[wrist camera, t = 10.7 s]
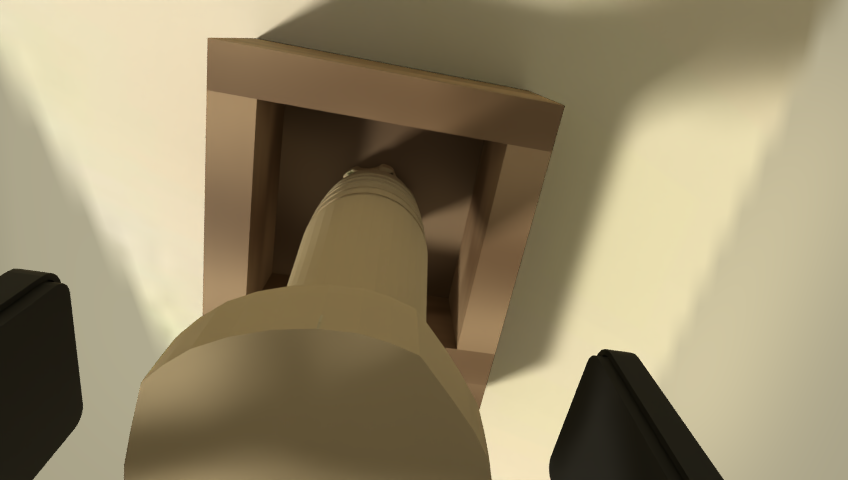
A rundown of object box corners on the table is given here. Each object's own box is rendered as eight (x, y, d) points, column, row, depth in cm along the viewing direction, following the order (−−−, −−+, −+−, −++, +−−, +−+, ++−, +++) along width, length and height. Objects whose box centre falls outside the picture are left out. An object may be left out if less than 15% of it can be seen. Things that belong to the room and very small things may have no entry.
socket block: (255, 38, 19) (207, 37, 14) (528, 90, 20) (564, 105, 16) (238, 373, 25) (200, 449, 20) (450, 400, 26) (460, 478, 21)
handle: (425, 115, 19) (485, 309, 6) (437, 262, 22) (499, 651, 8) (303, 126, 19) (56, 349, 6) (329, 272, 22) (203, 680, 8)
